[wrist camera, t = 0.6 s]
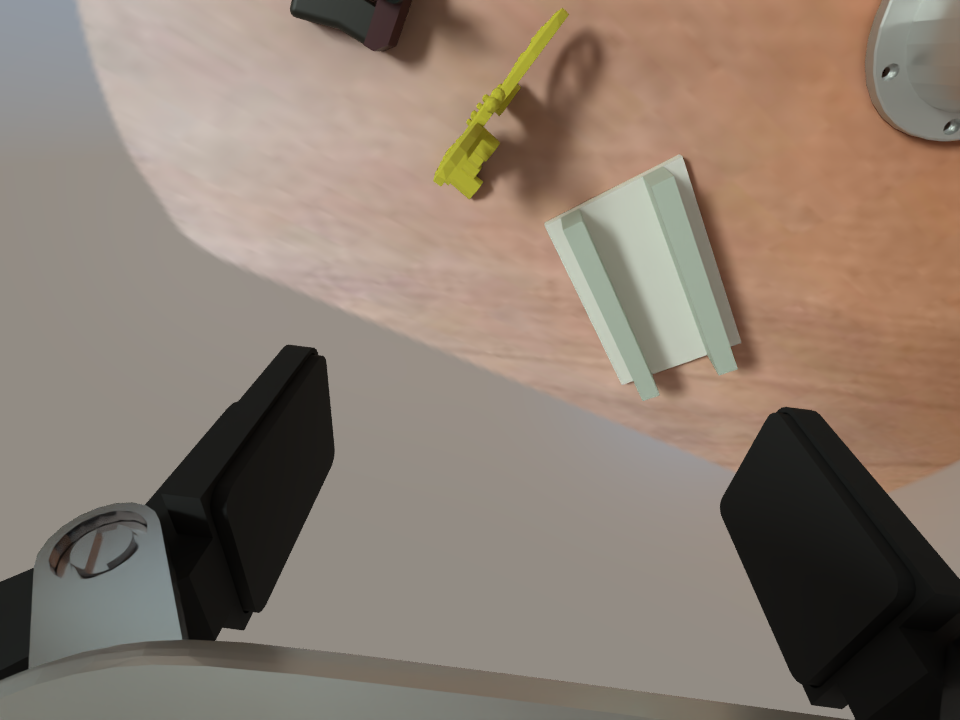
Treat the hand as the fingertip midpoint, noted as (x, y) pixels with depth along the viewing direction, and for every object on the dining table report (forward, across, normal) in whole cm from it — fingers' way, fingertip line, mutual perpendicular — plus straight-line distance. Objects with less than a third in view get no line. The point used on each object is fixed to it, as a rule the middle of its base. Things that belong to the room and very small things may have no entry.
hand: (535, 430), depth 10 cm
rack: (+27, -11, +7) cm, 30 cm away
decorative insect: (+28, +2, -4) cm, 28 cm away
